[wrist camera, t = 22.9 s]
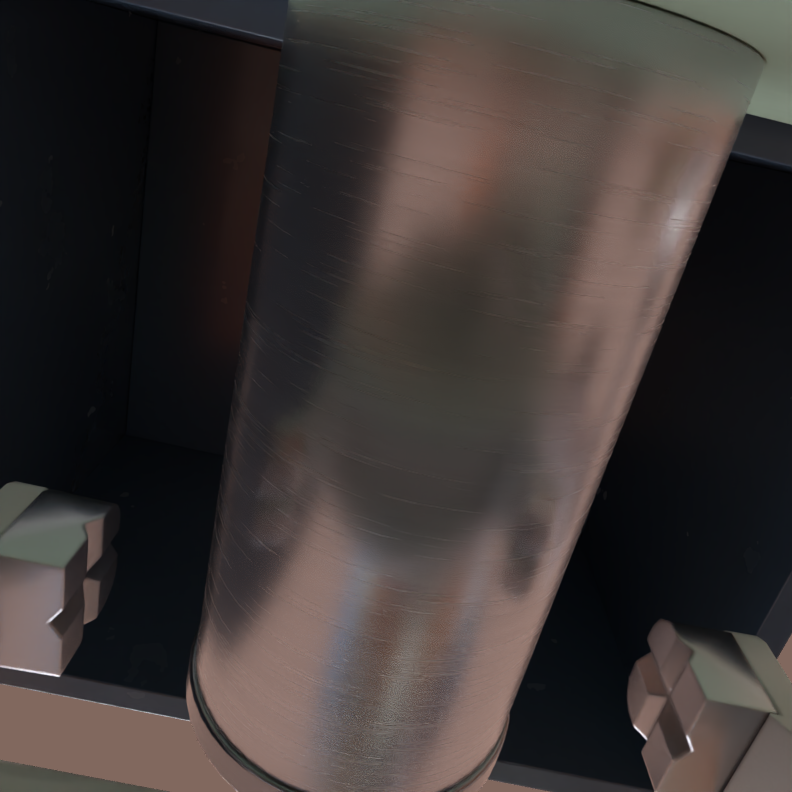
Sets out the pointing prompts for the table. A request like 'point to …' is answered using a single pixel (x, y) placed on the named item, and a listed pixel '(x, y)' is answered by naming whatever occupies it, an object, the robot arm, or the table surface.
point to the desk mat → (752, 43)
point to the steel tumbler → (439, 365)
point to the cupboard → (218, 353)
